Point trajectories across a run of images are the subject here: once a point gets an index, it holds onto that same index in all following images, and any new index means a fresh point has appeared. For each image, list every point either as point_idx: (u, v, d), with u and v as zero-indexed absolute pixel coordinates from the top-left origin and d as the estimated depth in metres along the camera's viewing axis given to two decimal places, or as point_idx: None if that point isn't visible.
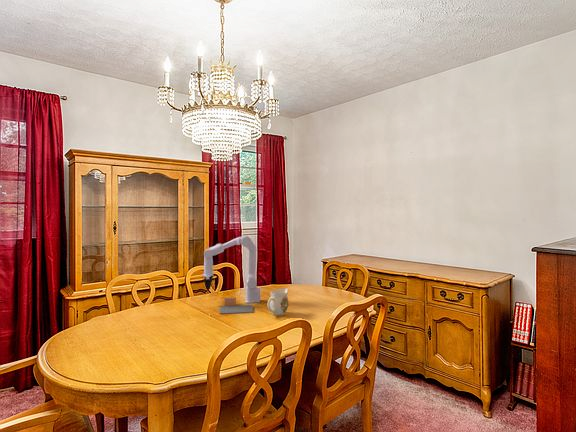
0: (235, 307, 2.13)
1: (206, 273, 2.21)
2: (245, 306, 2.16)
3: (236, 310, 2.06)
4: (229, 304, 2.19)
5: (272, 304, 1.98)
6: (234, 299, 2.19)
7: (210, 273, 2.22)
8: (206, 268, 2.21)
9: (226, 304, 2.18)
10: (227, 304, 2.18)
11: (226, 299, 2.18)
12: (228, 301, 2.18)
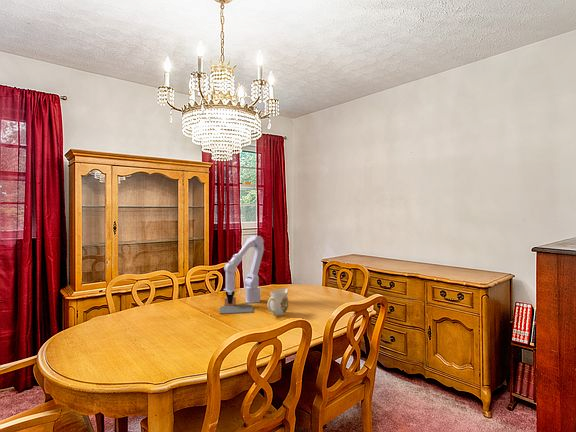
0: (235, 307, 2.13)
1: (228, 288, 2.17)
2: (245, 306, 2.16)
3: (236, 310, 2.06)
4: (229, 304, 2.18)
5: (272, 304, 1.98)
6: (234, 299, 2.19)
7: (232, 288, 2.17)
8: (228, 283, 2.16)
9: (226, 304, 2.18)
10: (227, 304, 2.18)
11: (226, 299, 2.18)
12: None
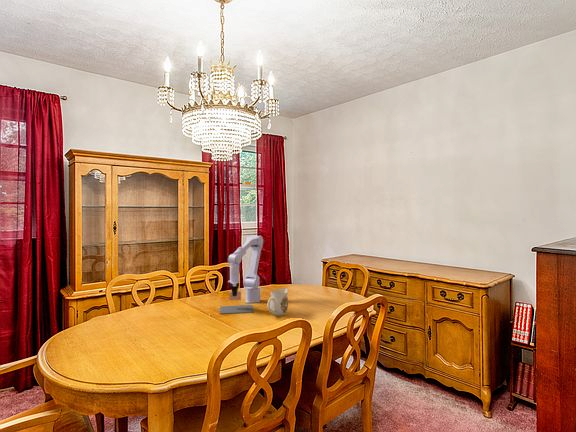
0: (235, 307, 2.13)
1: (232, 280, 2.09)
2: (245, 306, 2.16)
3: (236, 310, 2.06)
4: (234, 298, 2.11)
5: (272, 304, 1.98)
6: (239, 293, 2.11)
7: (236, 280, 2.09)
8: (232, 274, 2.09)
9: (231, 298, 2.10)
10: (232, 298, 2.10)
11: (231, 293, 2.10)
12: (232, 295, 2.10)
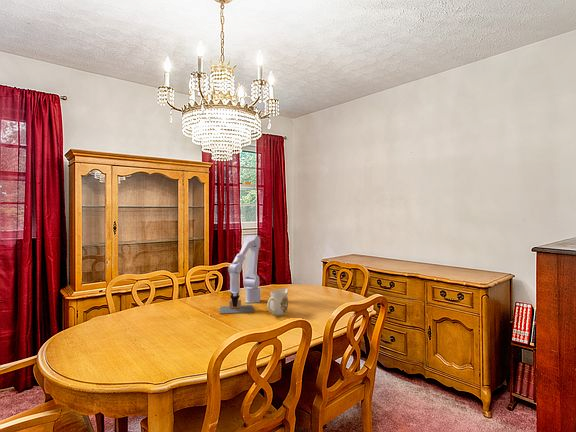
0: None
1: (233, 289, 2.09)
2: (245, 306, 2.16)
3: (236, 310, 2.06)
4: (234, 307, 2.11)
5: (272, 304, 1.98)
6: (239, 301, 2.11)
7: (237, 289, 2.09)
8: (233, 284, 2.08)
9: (231, 307, 2.10)
10: (232, 307, 2.10)
11: (231, 301, 2.10)
12: None
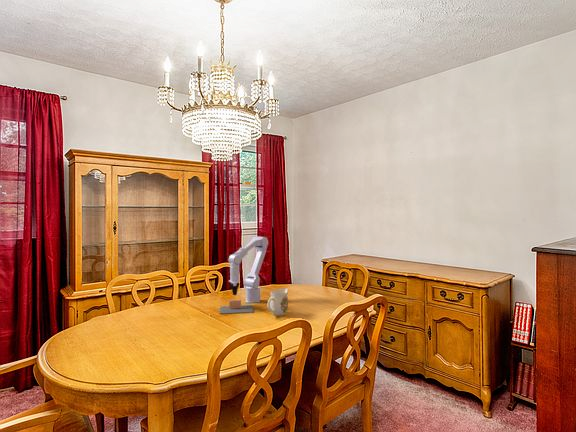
0: None
1: (233, 279, 2.14)
2: (245, 306, 2.16)
3: (236, 310, 2.06)
4: (234, 307, 2.11)
5: (272, 304, 1.98)
6: (239, 301, 2.11)
7: (237, 279, 2.14)
8: (233, 274, 2.14)
9: (231, 307, 2.10)
10: (232, 307, 2.10)
11: (231, 301, 2.10)
12: (233, 303, 2.10)
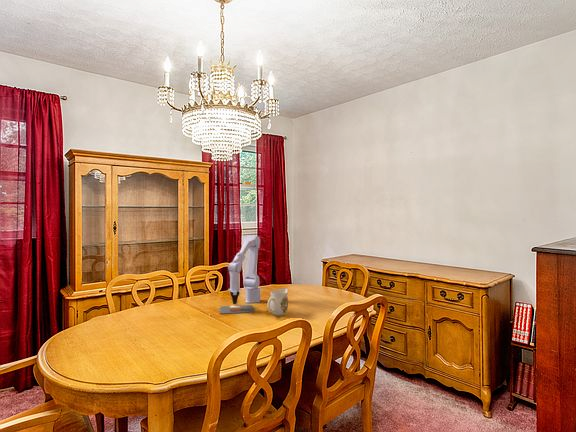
0: None
1: (233, 288, 2.07)
2: (245, 306, 2.16)
3: None
4: None
5: (272, 304, 1.98)
6: None
7: (237, 288, 2.08)
8: (233, 283, 2.07)
9: None
10: None
11: None
12: None
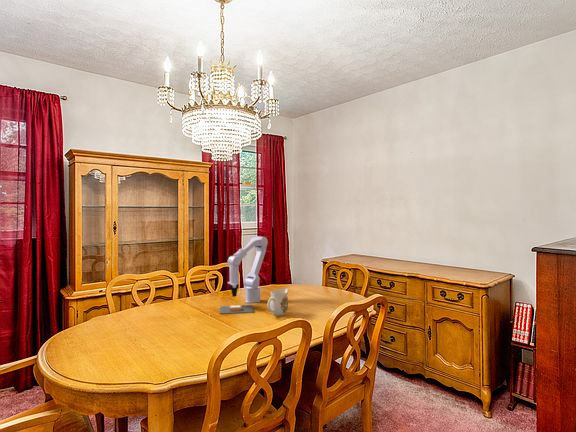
0: None
1: (232, 281, 2.14)
2: (245, 306, 2.16)
3: None
4: None
5: (272, 304, 1.98)
6: None
7: (236, 281, 2.15)
8: (232, 276, 2.14)
9: None
10: None
11: None
12: None
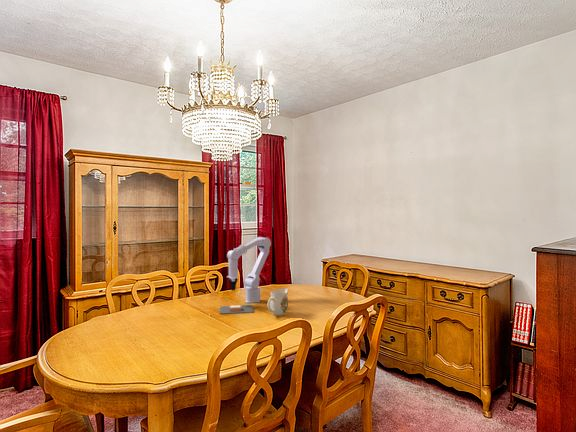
0: None
1: (231, 275, 2.16)
2: (245, 306, 2.16)
3: None
4: None
5: (272, 304, 1.98)
6: None
7: (235, 275, 2.16)
8: (231, 270, 2.16)
9: None
10: None
11: None
12: None
